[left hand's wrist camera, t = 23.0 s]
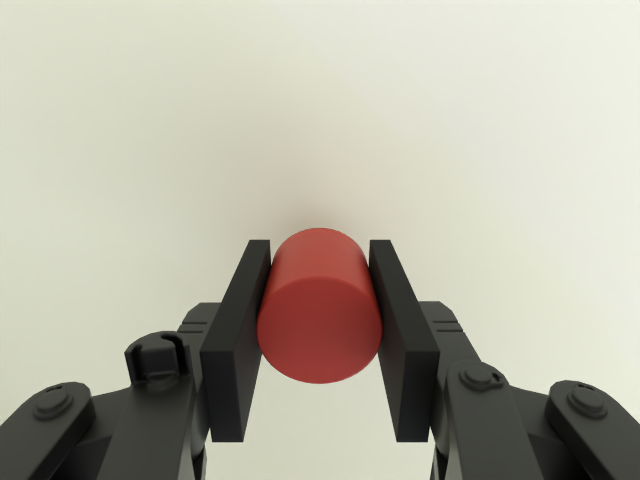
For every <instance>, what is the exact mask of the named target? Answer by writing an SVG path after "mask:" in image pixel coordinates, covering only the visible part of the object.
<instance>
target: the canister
mask: <svg viewBox="0 0 640 480" xmlns="http://www.w3.org/2000/svg"><path fill="white" fill-rule="evenodd" d="M256 332H257V342H258V345H259V348H260V350H261V352H262V354H263V355H264V357H265V358H266V360H267V361H268V362H269V363H270V364H271V365H272V366H273V367H274V368H275V369H276V370H278V371H279V372H281V373H282V374H284V375H286V376H288V377H290V378H292V379H295V380H298V381H302V382H306V383H314V384H324V383H333V382H337V381H341V380H344V379H347V378H349V377H351V376H353V375H355V374H357V373H358V372H360V371H361V370H363V369H364V368H365V367H366V366H367V365H368V364H369V363H370V362H371V361H372V359H373V358H374V357H375V355H376V353H377V351H378V349H379V347H380V345H381V341H382V337H383V322H382V317H381V313H380V310H379V306H378V302H377V298H376V294H375V291H374V287H373V283H372V279H371V276H370V272H369V268H368V264H367V261H366V258H365V255H364V253H363V251H362V250H361V248H360V247H359V246H358V244H357V243H356V242H355V241H354V240H352V239H351V238H350V237H348V236H347V235H345V234H343V233H341V232H339V231H336V230H332V229H327V228H312V229H307V230H304V231H301V232H298V233H296V234H294V235H292V236H291V237H289V238H288V239H287V240H286V241H285V242H284V243H283V244H282V245H281V246H280V247H279V249H278V250H277V252H276V254H275V256H274V259H273V262H272V265H271V269H270V273H269V276H268V280H267V284H266V287H265V291H264V295H263V298H262V302H261V305H260V309H259V313H258V316H257V321H256Z"/></svg>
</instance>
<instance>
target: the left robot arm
mask: <svg viewBox="0 0 640 480" xmlns="http://www.w3.org/2000/svg"><path fill="white" fill-rule="evenodd" d="M270 269H271V254H270V240H249V243H248V245H247V247H246V249H245V251H244V254H243V256H242V258H241V260H240V262H239V265H238V267H237V269H236V271H235V273H234V276H233V278H232V280H231V282H230V284H229V287H228V289H227V291H226V293H225V296H224V298H223V300H222V302H221V303H199V304H198V305H197V306H195V307H194V308H193V309H191V310H190V311H189V312H188V313H187V315H186V317H185V318H184V320H183V322H182V325H180V327H179V329H178V330H177V332H176V331H160V332H156V333H151V334H148V335H146V336H144V337H141V338H139V339H138V340H136V341H135V342H133V343H132V344H131V345H130V346H129V347H128V348H127V350H126V351H125V352H124V354H125V358H126V363H127V367H128V371H129V375H130V380H131V386H130V387H128V388H125V389H122V390H119V391H115V392H110V393H106V394H102V395H97V396H93V397H92V396H91V392H90V389H89V388H88V387H87V386H86V385H85V384H82V383H78V382H67V383H60V384H57V385H54V386H51V387H48V388H46V389H44V390H42V391H40V392H38V393H36V394H34V395H33V396H32V397H31V398H29V399H28V400H27V401H25V402H24V403H23V404H22V405H21V406H20V407H19V408H18V409H17V410H16V411H15V412H14V413H13V414H12V415H11V416H10V417H9V418H8V419H7V420H6V421H5V422H4V423H3V424H2V425H1V426H0V480H205V474H206V462H207V457H206V450H205V441H206V437H207V434H208V431H209V428H210V431H211V438H212V442H243V440H244V435H245V430H246V426H247V421H248V416H249V412H250V407H251V402H252V398H253V393H254V389H255V384H256V379H257V375H258V370H259V365H260V361H261V356H262V352H261V350H260V348H259V345H258V342H257V332H256V321H257V316H258V313H259V309H260V305H261V302H262V298H263V295H264V291H265V287H266V284H267V280H268V276H269V273H270ZM369 272H370V276H371V279H372V283H373V287H374V291H375V294H376V298H377V302H378V306H379V310H380V313H381V317H382V322H383V337H382V341H381V345H380V347H379V349H378V351H377V352H378V357H379V362H380V366H381V371H382V376H383V380H384V385H385V390H386V394H387V399H388V404H389V408H390V413H391V418H392V422H393V427H394V432H395V436H396V441H397V442H428V436H429V429H430V427H431V430H432V433H433V436H434V440H435V443H436V444H435V450H434V456H433V463H432V469H431V476H430V480H640V424H639V423H638V422H637V421H636V420H635V419H634V418H633V417H632V416H631V415H630V414H629V413H628V412H627V411H626V410H625V409H624V408H623V407H622V406H621V405H620V404H619V403H618V402H617V401H616V400H614V399H613V398H612V397H611V396H609V395H608V394H607V393H605V392H603V391H601V390H599V389H598V388H596V387H594V386H591V385H588V384H585V383H582V382H579V381H569V380H564V381H560V382H556V383H555V384H554V385H553V386H551V388H550V391H549V394H548V395H545V394H541V393H536V392H532V391H528V390H523V389H520V388H516V387H513V386H511V385H509V383H508V381H507V380H506V378H505V376H504V375H503V374H502V373H501V372H499V371H498V370H497V369H496V368H494V367H492V366H490V365H488V364H486V363H484V362H481V360H480V358H479V357H478V355H477V353H476V351H475V350H474V348H473V346H472V345H471V343H470V341H469V339H468V338H467V336H466V334H465V333H464V332H463V329H462V327H461V326H460V324H459V323H458V321H457V319H456V317H455V315H454V314H453V312H452V310H450V309H449V308H448V307H446V306H445V305H444V304H442V303H441V302H440V301H418V300H417V298H416V296H415V294H414V292H413V289H412V287H411V285H410V283H409V281H408V278H407V276H406V274H405V272H404V270H403V267H402V265H401V263H400V261H399V259H398V256H397V254H396V252H395V250H394V248H393V245H392V243H391V241H390V240H370V249H369Z"/></svg>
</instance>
